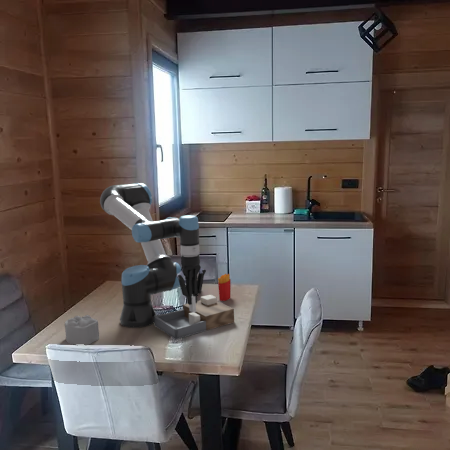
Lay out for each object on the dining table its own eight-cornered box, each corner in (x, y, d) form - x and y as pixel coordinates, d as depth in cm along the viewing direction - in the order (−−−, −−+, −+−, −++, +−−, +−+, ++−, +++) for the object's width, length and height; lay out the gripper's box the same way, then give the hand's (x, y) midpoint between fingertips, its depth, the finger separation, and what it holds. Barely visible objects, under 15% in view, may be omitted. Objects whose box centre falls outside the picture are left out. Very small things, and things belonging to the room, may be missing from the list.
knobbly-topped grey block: (83, 347, 187) (81, 325, 186) (59, 341, 194) (57, 320, 192) (102, 337, 196) (101, 316, 195) (79, 331, 202) (77, 311, 201)
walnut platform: (206, 330, 199) (205, 316, 198) (183, 317, 214) (182, 304, 213) (234, 322, 207) (233, 308, 206) (210, 310, 222) (210, 297, 221)
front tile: (200, 327, 200) (195, 328, 199) (194, 323, 205) (189, 324, 203) (200, 315, 199) (194, 316, 198) (194, 312, 204) (188, 313, 202)
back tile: (207, 305, 211) (206, 299, 211) (200, 302, 215) (200, 296, 215) (216, 302, 214) (216, 297, 213) (210, 299, 218) (210, 294, 217)
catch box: (175, 339, 192) (175, 329, 191) (154, 325, 206) (153, 316, 205) (206, 330, 199) (205, 321, 199) (183, 317, 214) (183, 309, 213)
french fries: (226, 295, 242) (225, 272, 239) (232, 297, 239) (232, 273, 237) (216, 301, 234) (215, 276, 232) (223, 302, 232) (222, 277, 230)
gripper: (180, 259, 190) (183, 317, 194) (209, 253, 197) (211, 310, 201) (171, 255, 196) (174, 312, 200) (199, 250, 203) (201, 305, 207)
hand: (192, 311), depth 201 cm, fingers closed
